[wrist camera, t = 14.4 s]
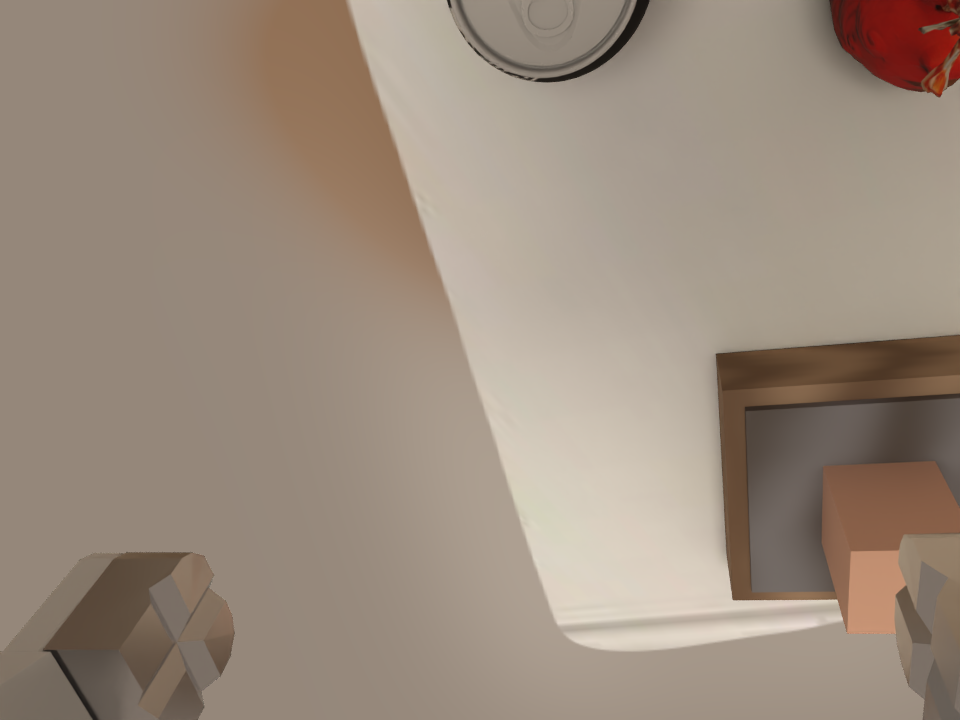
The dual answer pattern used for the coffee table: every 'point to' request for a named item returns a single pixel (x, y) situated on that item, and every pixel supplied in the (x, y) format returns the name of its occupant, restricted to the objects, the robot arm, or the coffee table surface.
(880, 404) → the walnut plinth
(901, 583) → the terracotta block
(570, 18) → the beverage can
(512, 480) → the coffee table surface
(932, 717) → the robot arm
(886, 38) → the red clay folk toy
